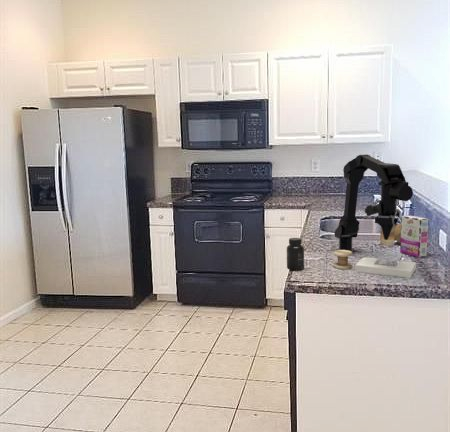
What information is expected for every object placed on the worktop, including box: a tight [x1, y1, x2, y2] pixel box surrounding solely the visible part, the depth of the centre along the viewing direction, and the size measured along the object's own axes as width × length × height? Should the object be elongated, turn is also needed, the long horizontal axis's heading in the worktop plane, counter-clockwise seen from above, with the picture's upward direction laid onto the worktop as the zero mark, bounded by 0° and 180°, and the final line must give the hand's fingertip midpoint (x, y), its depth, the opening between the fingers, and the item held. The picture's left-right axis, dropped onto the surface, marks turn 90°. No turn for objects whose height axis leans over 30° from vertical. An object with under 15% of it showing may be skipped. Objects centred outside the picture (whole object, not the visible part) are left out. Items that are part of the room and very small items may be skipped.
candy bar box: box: [399, 214, 430, 259], centre depth 205 cm, size 11×5×16 cm, turn 23°
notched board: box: [354, 257, 417, 279], centre depth 184 cm, size 13×20×2 cm, turn 61°
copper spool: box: [379, 224, 396, 247], centre depth 183 cm, size 5×5×8 cm
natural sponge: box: [394, 223, 401, 245], centre depth 224 cm, size 9×9×10 cm
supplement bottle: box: [286, 237, 305, 272], centre depth 188 cm, size 7×7×12 cm
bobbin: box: [333, 249, 353, 270], centre depth 190 cm, size 7×7×6 cm
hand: (387, 238), depth 184 cm, fingers closed on copper spool, 5 cm apart
